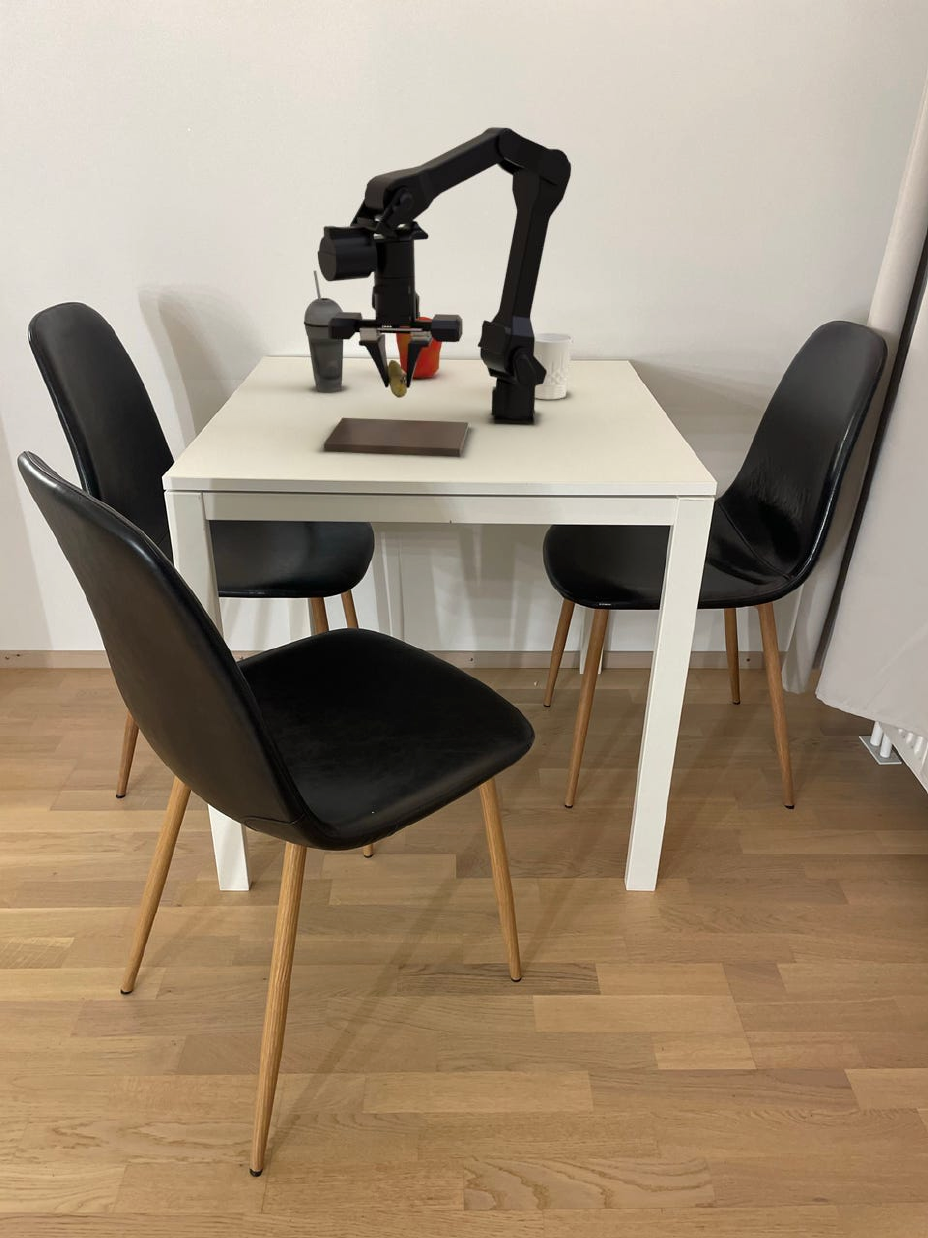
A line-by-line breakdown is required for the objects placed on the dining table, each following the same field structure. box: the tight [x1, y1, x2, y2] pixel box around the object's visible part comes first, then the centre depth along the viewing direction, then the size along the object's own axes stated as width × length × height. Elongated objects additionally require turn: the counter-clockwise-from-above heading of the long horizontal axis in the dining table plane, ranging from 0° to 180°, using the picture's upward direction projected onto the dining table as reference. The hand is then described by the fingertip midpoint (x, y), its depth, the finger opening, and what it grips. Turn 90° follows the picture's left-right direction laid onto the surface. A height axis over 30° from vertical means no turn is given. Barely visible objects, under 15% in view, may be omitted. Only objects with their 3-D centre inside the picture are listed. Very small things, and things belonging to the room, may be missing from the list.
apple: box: [395, 311, 443, 379], centre depth 171 cm, size 9×8×12 cm
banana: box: [388, 359, 408, 399], centre depth 136 cm, size 10×2×4 cm, turn 11°
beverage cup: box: [303, 270, 344, 393], centre depth 161 cm, size 7×7×20 cm
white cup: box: [534, 331, 574, 400], centre depth 161 cm, size 8×8×10 cm
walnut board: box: [323, 417, 469, 457], centre depth 140 cm, size 20×13×1 cm, turn 85°
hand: (397, 386), depth 136 cm, fingers closed on banana, 3 cm apart
